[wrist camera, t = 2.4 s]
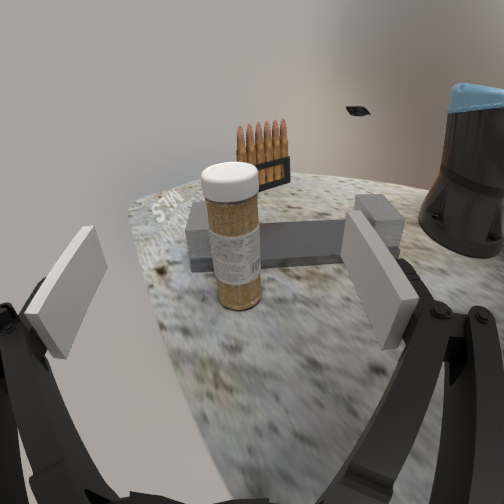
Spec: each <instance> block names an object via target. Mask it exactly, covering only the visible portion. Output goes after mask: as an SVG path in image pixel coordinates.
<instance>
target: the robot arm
mask: <svg viewBox="0 0 504 504" xmlns="http://www.w3.org/2000/svg"><path fill="white" fill-rule="evenodd" d="M447 113H448V118H447V126H446V134H445V142H444V149H443V155H442V161H441V167H440V172H439V175H438V177H437V179H436V181H435V182H434V184H433V186H432V188H431V189H430V191H429V193H428V195H427V196H426V198H425V200H424V201H423V203H422V206H421V211H420V215H419V221H420V224H421V226H422V228H423V229H424V230H425V231H426V232H427V233H428V234H429V235H430V236H431V237H432V238H433V239H435V240H436V241H438V242H439V243H441V244H442V245H444V246H446V247H448V248H450V249H452V250H454V251H456V252H459V253H462V254H465V255H468V256H473V257H481V258H485V257H491V256H494V255H496V254H497V253H498V252H499V250H500V248H501V245H502V243H503V240H504V90H503V89H498V88H493V87H488V86H482V85H475V84H466V83H459V84H456V85H455V86H454V87H453V88H452V90H451V94H450V102H449V107H448V110H447ZM340 256H341V258H342V260H343V262H344V264H345V266H346V268H347V271H348V273H349V275H350V277H351V279H352V282H353V284H354V286H355V288H356V290H357V293H358V295H359V297H360V300H361V302H362V304H363V306H364V309H365V311H366V313H367V316H368V318H369V321H370V323H371V325H372V328H373V330H374V333H375V335H376V337H377V340H378V342H379V345H380V347H381V350H387V349H393V348H398V346H399V344H400V342H401V340H402V338H403V340H404V342H405V344H406V346H405V348H404V350H403V352H402V354H401V356H400V358H399V360H398V364H397V367H396V369H395V371H394V373H393V375H392V377H391V380H390V382H389V384H388V386H387V388H386V390H385V392H384V394H383V396H382V398H381V400H380V402H379V404H378V406H377V408H376V410H375V412H374V413H373V415H372V417H371V419H370V421H369V423H368V424H367V426H366V428H365V430H364V432H363V433H362V435H361V437H360V438H359V440H358V442H357V444H356V445H355V447H354V448H353V450H352V452H351V453H350V455H349V457H348V458H347V460H346V461H345V463H344V464H343V466H342V467H341V469H340V470H339V472H338V473H337V475H336V476H335V478H334V479H333V481H332V482H331V484H330V485H329V486H328V488H327V489H326V490H325V492H324V493H323V494H322V495H321V497H320V498H319V499H318V500H317V502H316V503H315V504H388V503H389V501H390V499H391V497H392V494H393V484H394V482H395V480H396V478H397V476H398V474H399V472H400V471H401V469H402V466H403V464H404V462H405V460H406V458H407V456H408V454H409V452H410V450H411V447H412V445H413V443H414V441H415V438H416V436H417V434H418V431H419V429H420V426H421V424H422V421H423V419H424V416H425V413H426V411H427V408H428V405H429V403H430V400H431V397H432V394H433V391H434V388H435V385H436V382H437V379H438V376H439V372H440V369H441V366H442V362H445V380H444V403H443V417H442V428H441V438H440V446H439V453H438V460H437V466H436V472H435V478H434V483H433V488H432V493H431V497H430V502H429V504H503V502H504V369H503V361H502V355H501V348H500V342H499V337H498V332H497V327H496V322H495V318H494V316H493V314H492V313H491V312H490V311H489V310H488V309H486V308H484V307H482V306H474V307H472V308H471V309H470V310H469V312H468V314H467V315H466V314H457V313H453V312H452V310H451V309H450V308H449V307H448V306H447V305H446V304H444V303H443V302H440V301H436V300H434V298H433V297H432V295H431V294H430V292H429V291H428V289H427V288H426V286H425V285H424V283H423V282H422V280H420V277H419V276H418V274H416V271H415V270H414V268H413V267H412V265H411V264H409V263H408V262H407V261H405V260H404V259H394V257H393V256H392V254H391V253H390V251H389V250H388V248H387V247H386V245H385V244H384V242H383V241H382V240H381V238H380V237H379V235H378V234H377V232H376V231H375V230H374V228H373V227H372V225H371V224H370V223H369V221H368V220H367V219H366V217H365V216H364V214H363V213H362V212H361V210H353V211H347V212H346V220H345V228H344V235H343V242H342V249H341V255H340ZM107 268H108V266H107V264H106V261H105V258H104V255H103V252H102V249H101V246H100V243H99V239H98V236H97V233H96V230H95V227H94V226H84V227H82V228H81V229H80V231H79V232H78V234H77V235H76V236H75V237H74V239H73V240H72V241H71V243H70V244H69V246H68V247H67V248H66V250H65V251H64V252H63V254H62V255H61V257H60V258H59V260H58V261H57V262H56V264H55V265H54V267H53V268H52V270H51V271H50V273H49V274H48V276H47V277H45V278H43V279H42V280H41V281H40V282H39V283H38V284H37V286H36V287H35V289H34V290H33V292H32V293H31V295H30V297H29V298H28V300H27V302H26V303H25V305H24V306H23V308H22V310H21V312H20V313H19V315H17V313H16V311H15V310H14V308H13V307H12V304H11V303H2V304H0V504H29V502H28V497H27V492H26V487H25V482H24V477H23V471H22V464H21V457H20V449H19V440H18V430H19V434H20V437H21V440H22V443H23V446H24V449H25V452H26V454H27V457H28V460H29V462H30V465H31V468H32V471H33V475H32V476H31V477H29V483H30V486H31V489H32V492H33V494H34V496H35V499H36V501H37V503H38V504H184V503H181V502H178V501H175V500H172V499H169V498H166V497H163V496H159V495H151V494H144V493H137V492H132V491H130V497H124V498H119V497H118V495H117V494H116V493H115V492H114V491H113V490H112V489H111V488H110V487H109V486H108V485H107V484H106V482H105V481H104V479H103V478H102V476H101V475H100V473H99V471H98V469H97V468H96V466H95V464H94V462H93V461H92V459H91V457H90V455H89V453H88V451H87V450H86V448H85V446H84V444H83V442H82V440H81V438H80V436H79V434H78V432H77V430H76V428H75V426H74V424H73V421H72V419H71V417H70V415H69V413H68V410H67V408H66V406H65V404H64V401H63V399H62V396H61V394H60V391H59V389H58V386H57V384H56V381H55V378H54V376H53V373H52V370H51V367H50V365H49V362H48V360H47V358H46V357H45V353H46V351H47V349H48V351H49V352H50V354H51V355H52V356H53V358H59V359H67V357H68V354H69V352H70V349H71V347H72V344H73V342H74V339H75V337H76V335H77V332H78V330H79V328H80V325H81V323H82V321H83V318H84V316H85V314H86V312H87V310H88V307H89V305H90V303H91V301H92V299H93V297H94V294H95V292H96V290H97V288H98V286H99V284H100V282H101V280H102V278H103V276H104V274H105V272H106V270H107ZM17 427H18V429H17ZM215 504H277V503H270V502H269V498H263V499H238V500H229V501H225V502H220V503H215Z"/></svg>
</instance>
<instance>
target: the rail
mask: <svg viewBox="0 0 504 504" xmlns="http://www.w3.org/2000/svg"><path fill="white" fill-rule="evenodd" d="M354 210H361V212H362V213H363V214H364V216H365V217H366V219H367V220H368V221H369V223H370V224H371V225H372V227H373V228H374V230H375V231H376V232H377V234H378V235H379V237H380V238H381V240H382V241H383V242H384V244H385V245H386V247H387V248H388V250H389V251H390V253H391V254H392V256H393V257H394V259H396V258H398V257H399V254H400V249H399V245H400V241H401V237H402V233H403V228H404V224H405V219H404V217H403V216H402V215H401V214H400V213H399V212H398V211H397V210H396V208H395V207H394V206H393V205H392V204H391V203H390V202H389V201H388V200H387V199H386V198H385V196H384V195H383V194H358V195H356V197H355V205H354ZM344 228H345V220H322V221H300V222H281V223H263V224H259V230H260V260H261V268H272V267H288V266H302V265H317V264H331V263H344V262H343V260H342V258H341V256H340V255H341V249H342V242H343V235H344ZM185 233H186V238H187V244H188V249H189V254H190V260H191V263H190V265H191V270H192V272H206V271H214V264H213V258H212V250H211V240H210V232H209V222H208V214H207V205H206V201H203V202H193V204H192V207H191V211H190V215H189V218H188V222H187V226H186V229H185Z"/></svg>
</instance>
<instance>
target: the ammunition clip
mask: <svg viewBox="0 0 504 504" xmlns="http://www.w3.org/2000/svg"><path fill="white" fill-rule="evenodd" d="M236 152H237V153H236V154H237V162H244V163H249V164H251V165H254V166H255V167H256V168H257V170H258V178H259V191H258V192H261V191H264V190H267V189H270V188H274V187H277V186H280V185H283V184H286V183H290V156H288V141H287V131H286V123H285V120H284V119H282V121H281V125H280V138H279V129H278V124H277V121H276V120H274V122H273V126H272V141H271V131H270V127H269V123H268V121H266V123H265V127H264V142H263V136H262V129H261V125H260V124H259V122H258V123H257V126H256V132H255V145H254V136H253V130H252V127H251V125H250V124H248V127H247V132H246V148H245V141H244V134H243V130H242V127H241V126H239V127H238V131H237V151H236Z"/></svg>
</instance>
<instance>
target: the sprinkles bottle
mask: <svg viewBox="0 0 504 504" xmlns="http://www.w3.org/2000/svg"><path fill="white" fill-rule="evenodd" d="M201 183H202V192H203V195H204V197H205V200H206V205H207V214H208V222H209V232H210V240H211V250H212V258H213V264H214V271H215V275H216V279H217V285H218V298H219V300H220V302H221V303H222V304H223V305H224V306H226V307H228V308H230V309H234V310H243V309H247V308H250V307H252V306H254V305H255V304H257V303H258V302H259V300H260V299H261V296H262V289H261V282H260V271H261V260H260V230H259V221H258V207H257V196H258V191H259V178H258V170H257V168H256V167H255V166H254V165H251V164H249V163H244V162H225V163H219V164H215V165H213V166H210V167H208V168H206V169H205V170H204V171H203V172H202V174H201Z"/></svg>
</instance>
